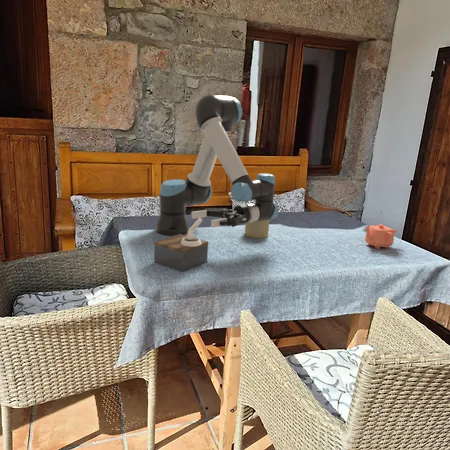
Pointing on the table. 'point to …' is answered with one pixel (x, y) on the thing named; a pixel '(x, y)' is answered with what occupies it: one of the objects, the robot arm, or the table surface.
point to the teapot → (379, 236)
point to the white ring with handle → (192, 236)
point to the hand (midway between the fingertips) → (201, 219)
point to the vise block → (179, 253)
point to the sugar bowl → (257, 229)
